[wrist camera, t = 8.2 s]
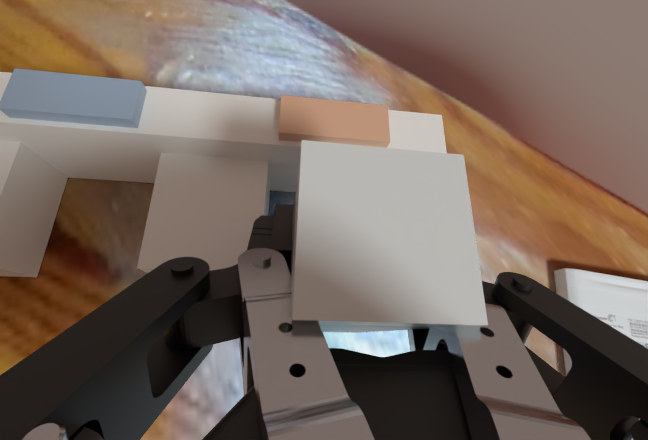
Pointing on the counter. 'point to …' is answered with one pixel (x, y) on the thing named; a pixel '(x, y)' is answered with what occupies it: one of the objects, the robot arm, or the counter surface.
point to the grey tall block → (383, 240)
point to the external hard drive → (607, 301)
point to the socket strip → (169, 157)
